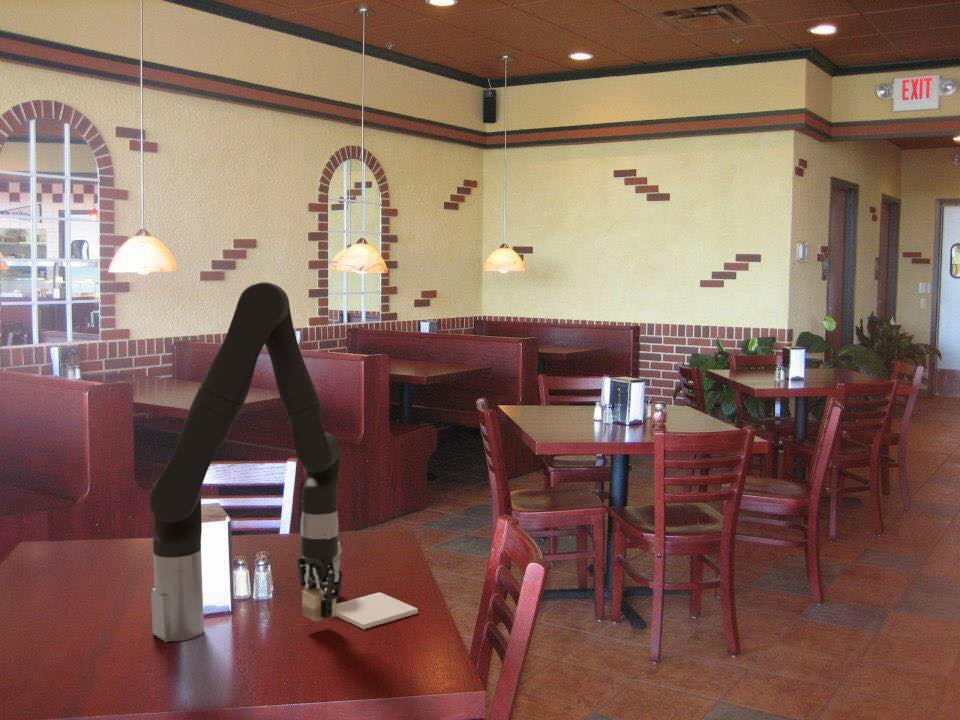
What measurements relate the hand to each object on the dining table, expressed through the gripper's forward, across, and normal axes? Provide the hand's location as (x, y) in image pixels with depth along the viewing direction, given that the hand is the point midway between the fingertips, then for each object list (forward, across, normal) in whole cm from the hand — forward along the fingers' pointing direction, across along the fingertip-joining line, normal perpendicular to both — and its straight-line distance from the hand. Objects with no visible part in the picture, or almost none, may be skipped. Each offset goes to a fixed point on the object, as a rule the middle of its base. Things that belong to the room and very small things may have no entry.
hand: (319, 612), depth 202 cm
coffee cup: (+4, -17, +12) cm, 21 cm away
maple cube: (0, 0, 0) cm, 0 cm away
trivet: (+3, -1, +14) cm, 14 cm away
